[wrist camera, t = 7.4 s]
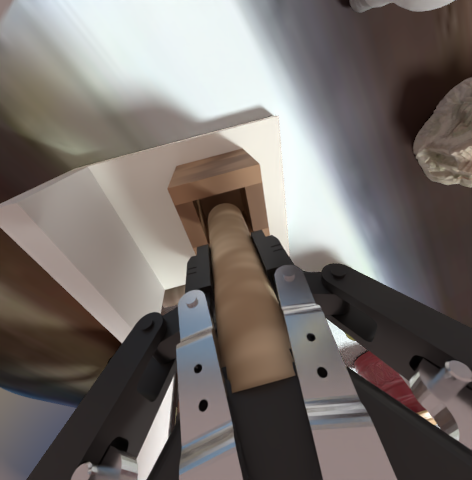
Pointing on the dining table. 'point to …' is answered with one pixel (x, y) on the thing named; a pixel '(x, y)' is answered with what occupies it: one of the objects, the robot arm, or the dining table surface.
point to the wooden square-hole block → (218, 193)
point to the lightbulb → (399, 4)
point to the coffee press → (158, 431)
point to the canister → (389, 382)
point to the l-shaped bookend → (132, 222)
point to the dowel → (245, 306)
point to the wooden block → (173, 296)
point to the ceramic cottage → (448, 139)
